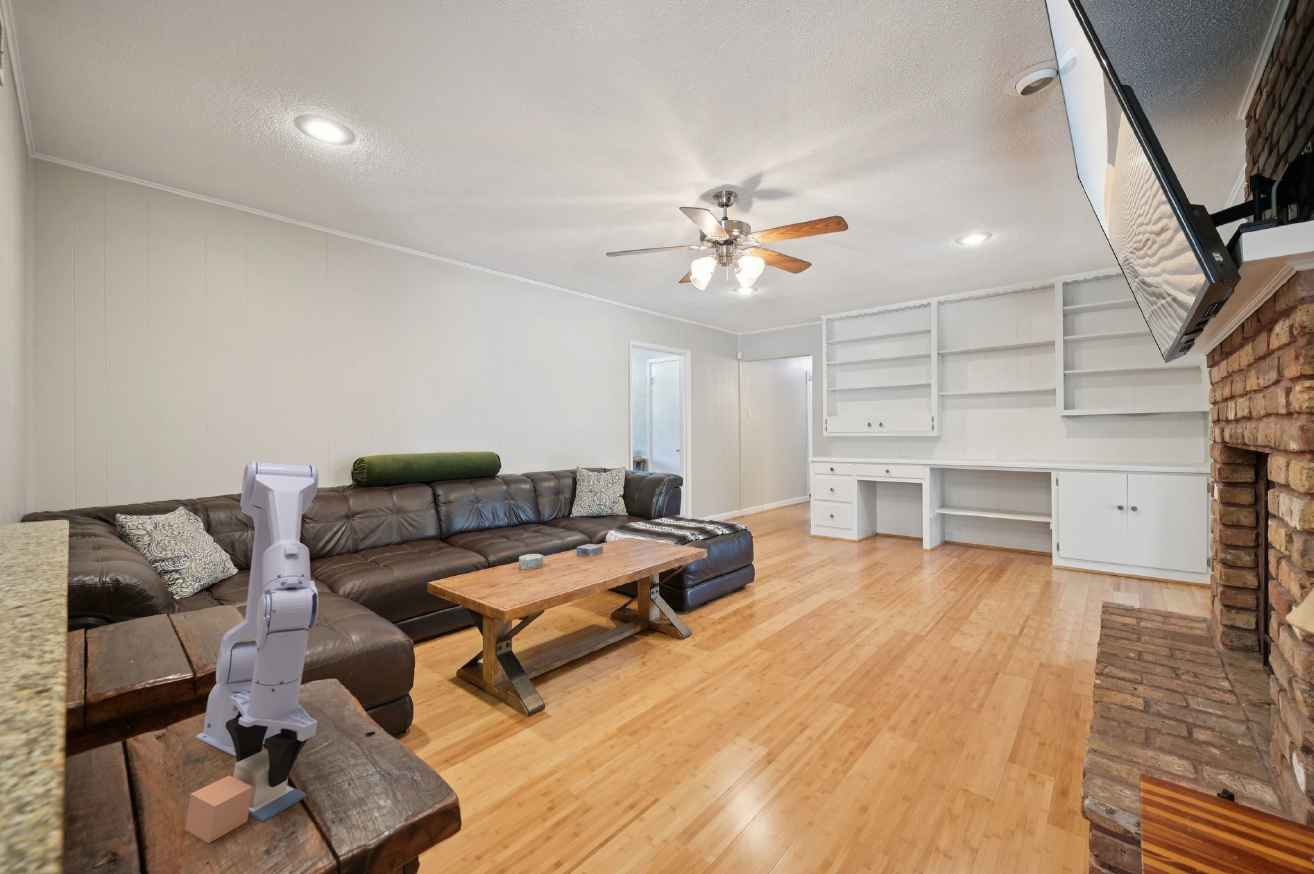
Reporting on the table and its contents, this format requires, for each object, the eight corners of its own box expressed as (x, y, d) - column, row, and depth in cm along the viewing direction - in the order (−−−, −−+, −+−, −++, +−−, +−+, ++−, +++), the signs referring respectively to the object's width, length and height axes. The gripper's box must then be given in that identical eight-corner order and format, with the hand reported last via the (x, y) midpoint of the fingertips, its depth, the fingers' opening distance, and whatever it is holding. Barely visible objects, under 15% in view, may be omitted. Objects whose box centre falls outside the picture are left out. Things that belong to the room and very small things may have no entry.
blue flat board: (211, 796, 74) (211, 792, 74) (256, 773, 80) (257, 770, 80) (262, 822, 71) (263, 818, 71) (306, 796, 76) (306, 793, 76)
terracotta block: (184, 830, 68) (190, 793, 68) (223, 809, 72) (229, 775, 72) (208, 844, 66) (214, 806, 66) (247, 822, 71) (252, 786, 71)
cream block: (230, 796, 74) (235, 763, 74) (263, 779, 78) (268, 747, 78) (252, 808, 72) (258, 774, 72) (286, 790, 76) (291, 757, 77)
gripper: (211, 672, 74) (195, 773, 74) (287, 702, 69) (270, 810, 69) (263, 656, 81) (249, 748, 81) (336, 682, 76) (321, 781, 76)
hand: (262, 775), depth 75 cm, fingers open, 5 cm apart
